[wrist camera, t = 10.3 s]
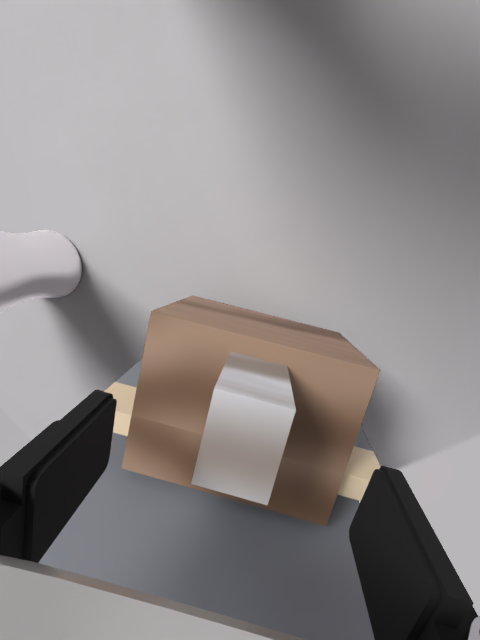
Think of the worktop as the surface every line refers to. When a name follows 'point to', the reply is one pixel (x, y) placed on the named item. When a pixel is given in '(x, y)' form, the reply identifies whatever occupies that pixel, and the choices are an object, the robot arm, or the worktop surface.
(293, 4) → the worktop surface
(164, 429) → the walnut cabinet
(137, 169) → the worktop surface
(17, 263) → the beer glass
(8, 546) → the robot arm
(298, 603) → the wall board
